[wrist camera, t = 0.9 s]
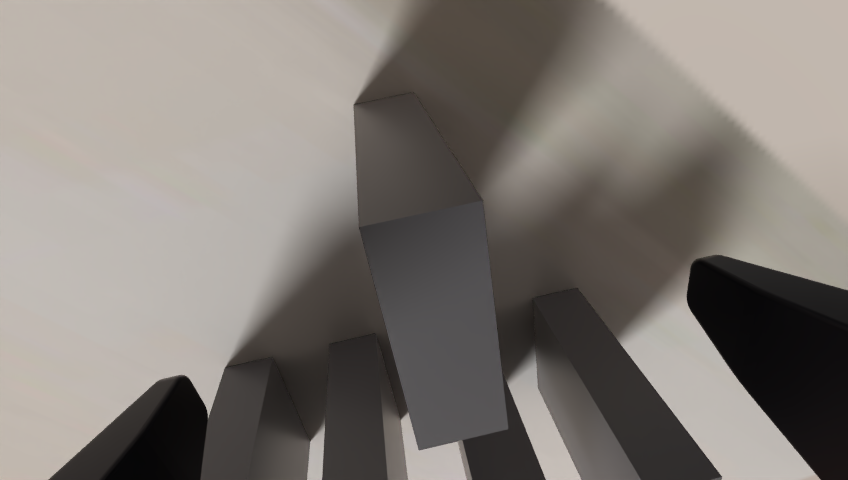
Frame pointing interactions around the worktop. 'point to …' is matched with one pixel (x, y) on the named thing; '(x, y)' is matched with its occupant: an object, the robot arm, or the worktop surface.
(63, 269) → the worktop surface
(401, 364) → the tile
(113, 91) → the worktop surface
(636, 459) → the tile
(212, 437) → the tile
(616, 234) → the worktop surface
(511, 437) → the tile
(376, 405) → the tile
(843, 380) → the robot arm
